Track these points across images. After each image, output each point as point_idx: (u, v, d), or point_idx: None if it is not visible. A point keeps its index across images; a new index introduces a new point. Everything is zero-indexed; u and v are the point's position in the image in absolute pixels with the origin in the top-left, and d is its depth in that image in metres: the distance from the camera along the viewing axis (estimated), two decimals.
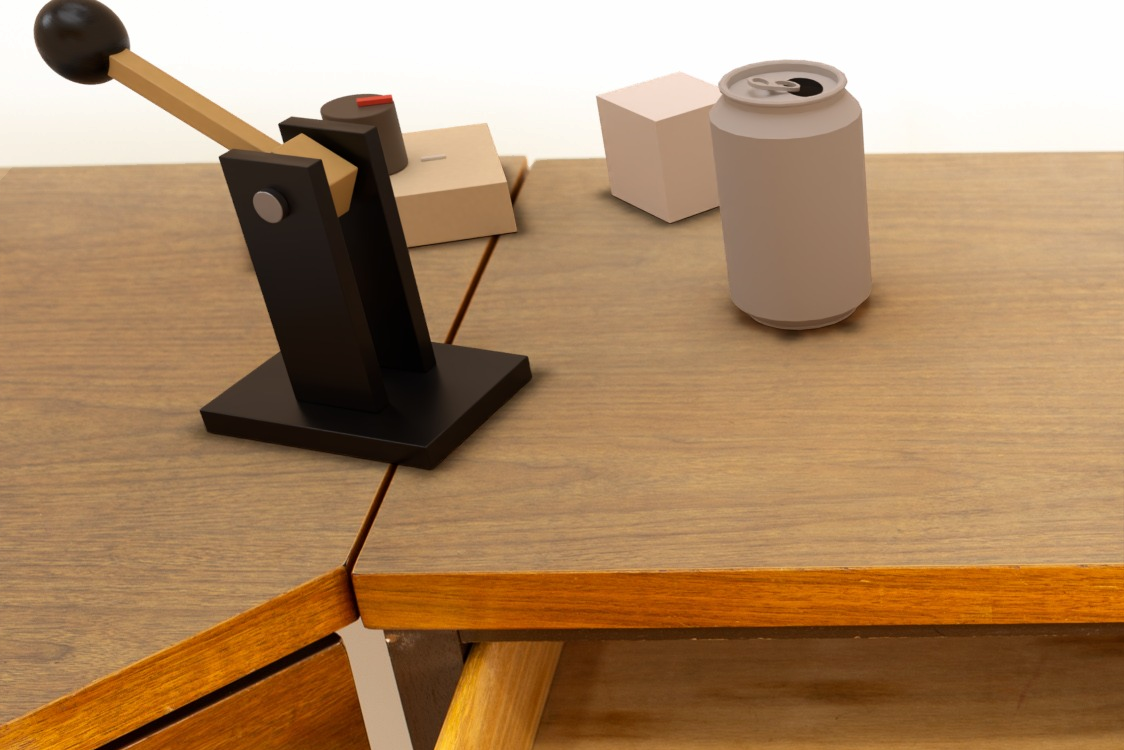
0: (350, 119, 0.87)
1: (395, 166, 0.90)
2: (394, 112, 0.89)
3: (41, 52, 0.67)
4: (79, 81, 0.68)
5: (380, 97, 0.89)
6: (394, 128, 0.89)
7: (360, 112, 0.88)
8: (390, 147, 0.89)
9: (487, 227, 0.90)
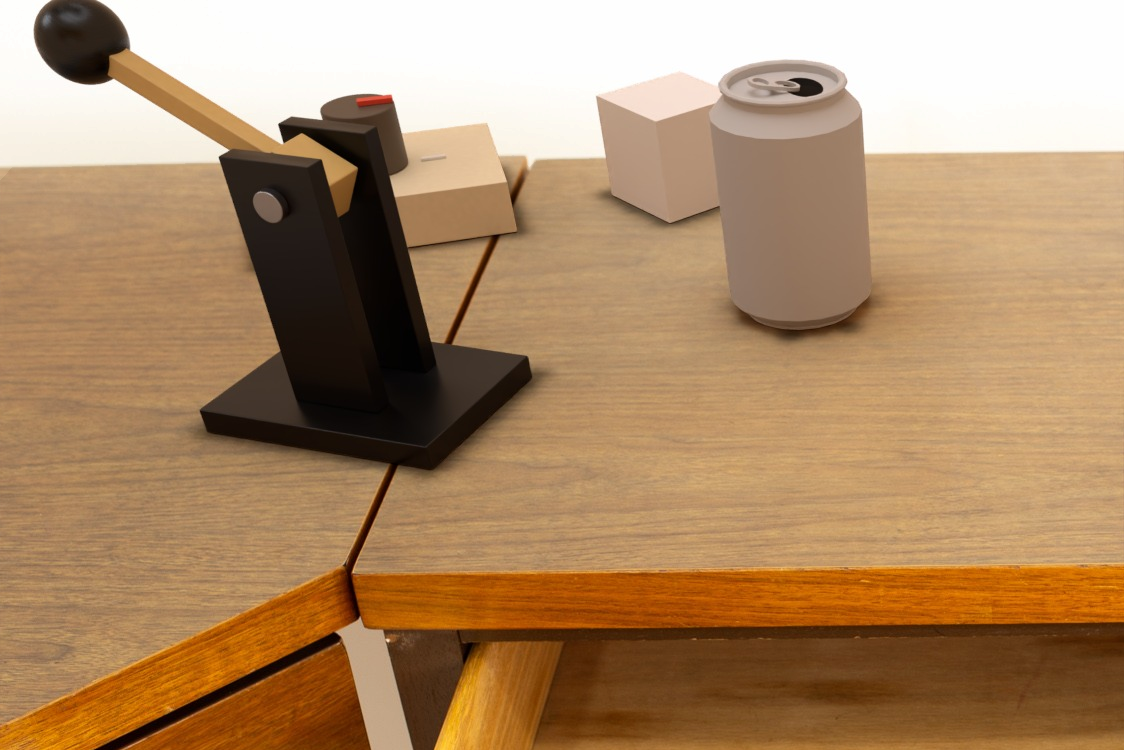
0: (350, 119, 0.87)
1: (395, 166, 0.90)
2: (394, 112, 0.89)
3: (41, 52, 0.67)
4: (79, 81, 0.68)
5: (380, 97, 0.89)
6: (394, 128, 0.89)
7: (360, 112, 0.88)
8: (390, 147, 0.89)
9: (487, 227, 0.90)
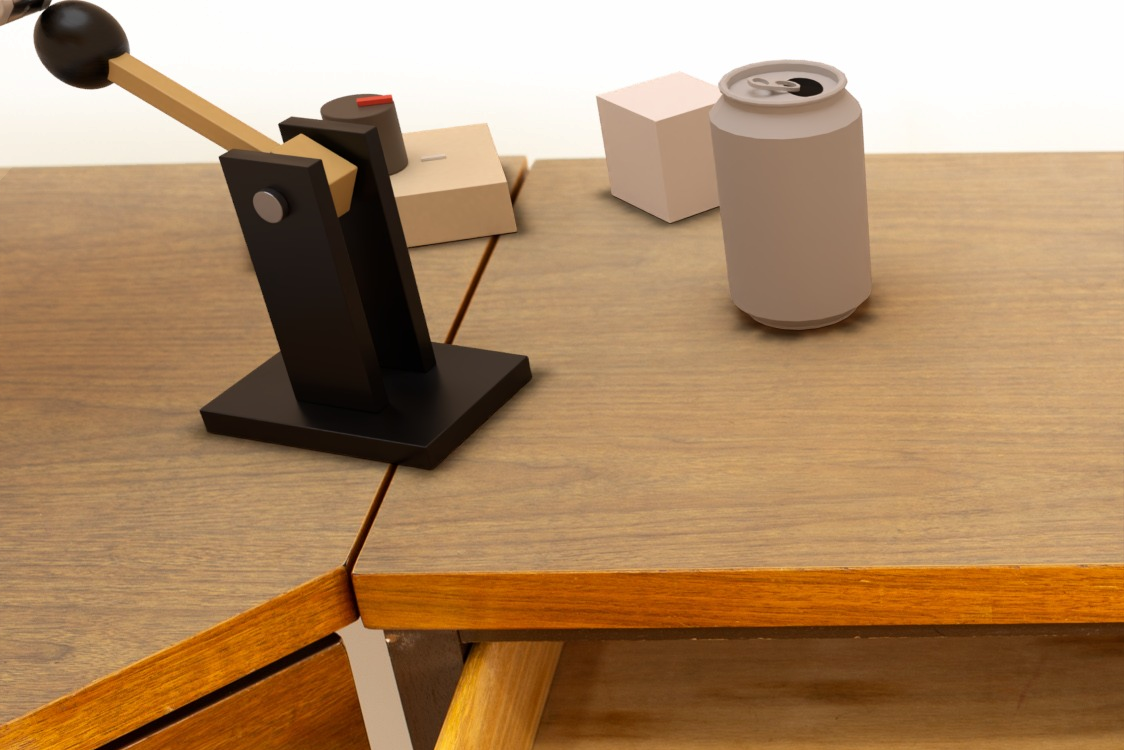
0: (350, 119, 0.87)
1: (395, 166, 0.90)
2: (394, 112, 0.89)
3: (41, 57, 0.67)
4: (79, 86, 0.68)
5: (380, 97, 0.89)
6: (394, 128, 0.89)
7: (360, 112, 0.88)
8: (390, 147, 0.89)
9: (487, 227, 0.90)
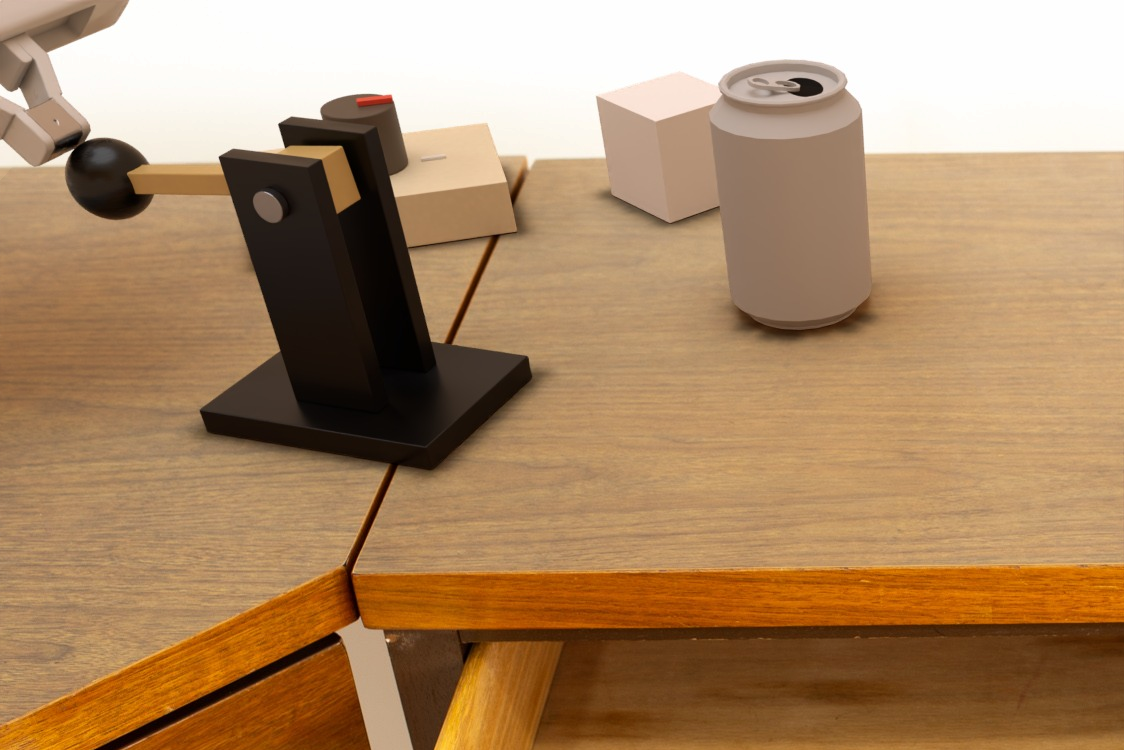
0: (350, 119, 0.87)
1: (395, 166, 0.90)
2: (394, 112, 0.89)
3: (78, 201, 0.71)
4: (118, 212, 0.71)
5: (380, 97, 0.89)
6: (394, 128, 0.89)
7: (360, 112, 0.88)
8: (390, 147, 0.89)
9: (487, 227, 0.90)
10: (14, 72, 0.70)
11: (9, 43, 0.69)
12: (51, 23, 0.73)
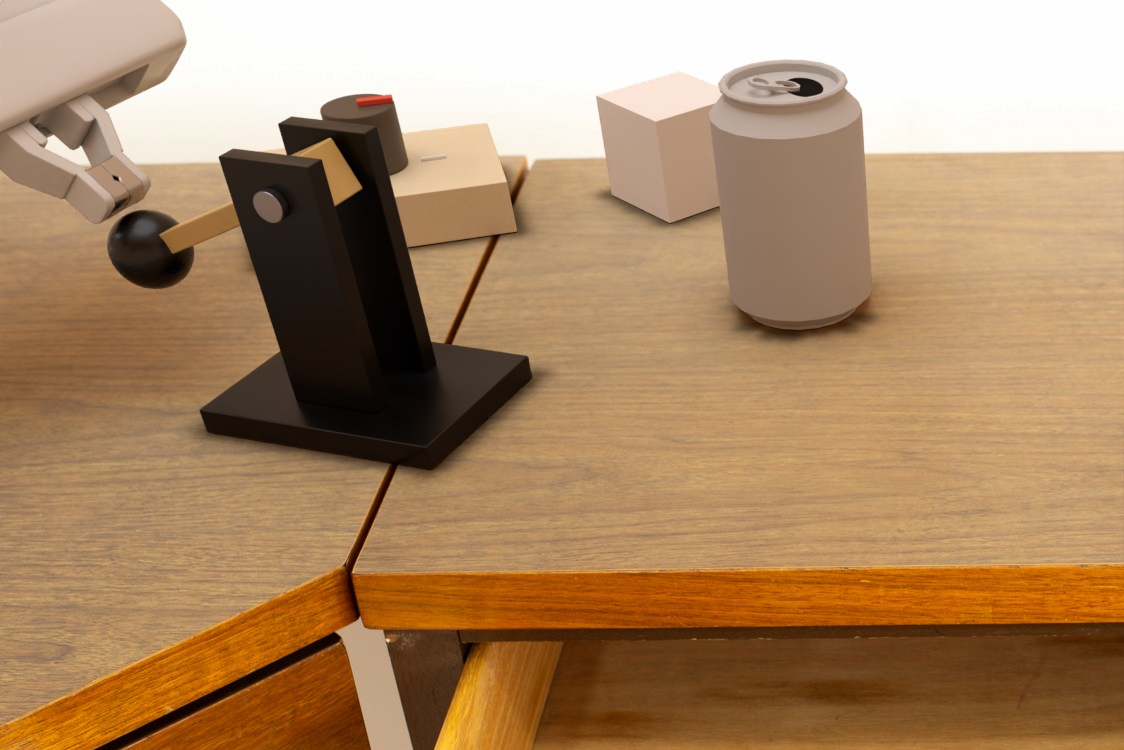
0: (350, 119, 0.87)
1: (395, 166, 0.90)
2: (394, 112, 0.89)
3: (124, 275, 0.73)
4: (160, 276, 0.73)
5: (380, 97, 0.89)
6: (394, 128, 0.89)
7: (360, 112, 0.88)
8: (390, 147, 0.89)
9: (487, 227, 0.90)
10: (76, 131, 0.72)
11: (72, 103, 0.72)
12: (107, 82, 0.76)
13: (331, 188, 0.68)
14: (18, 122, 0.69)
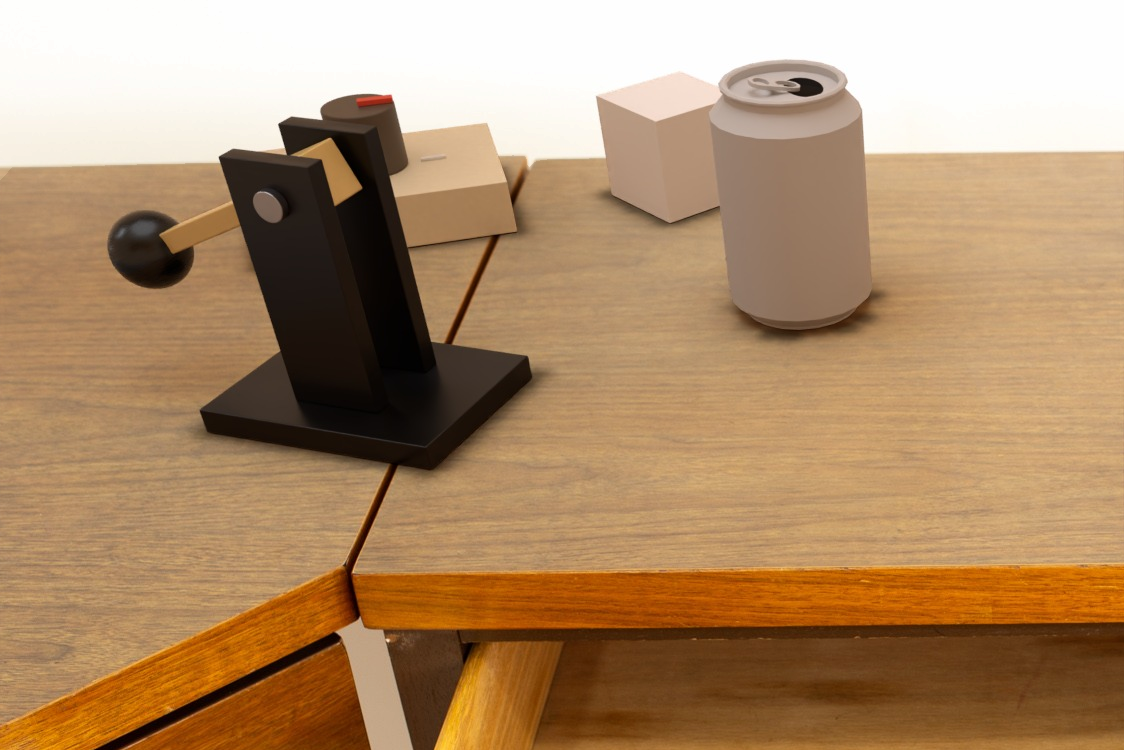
0: (350, 119, 0.87)
1: (395, 166, 0.90)
2: (394, 112, 0.89)
3: (124, 275, 0.73)
4: (160, 276, 0.73)
5: (380, 97, 0.89)
6: (394, 128, 0.89)
7: (360, 112, 0.88)
8: (390, 147, 0.89)
9: (487, 227, 0.90)
10: None
11: None
12: None
13: (331, 188, 0.68)
14: None
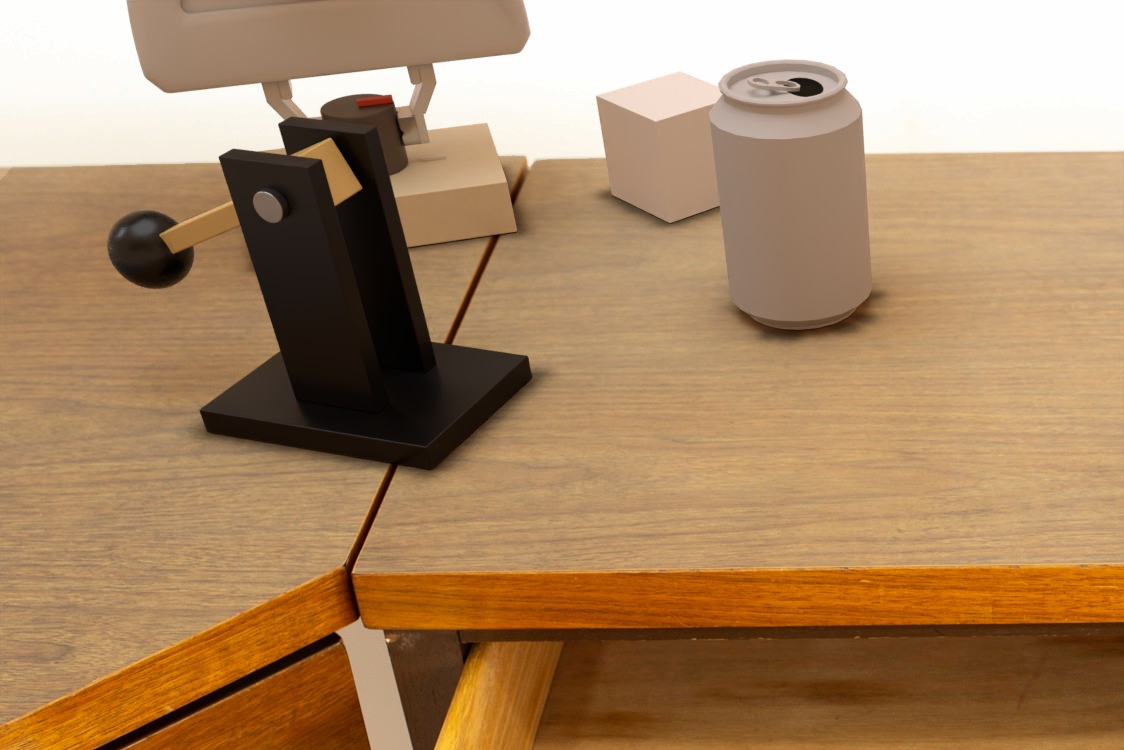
0: (350, 119, 0.87)
1: (395, 166, 0.90)
2: (394, 112, 0.89)
3: (124, 275, 0.73)
4: (160, 276, 0.73)
5: (380, 97, 0.89)
6: (394, 128, 0.89)
7: (360, 112, 0.88)
8: (390, 147, 0.89)
9: (487, 227, 0.90)
10: (291, 88, 0.87)
11: None
12: None
13: (331, 188, 0.68)
14: None
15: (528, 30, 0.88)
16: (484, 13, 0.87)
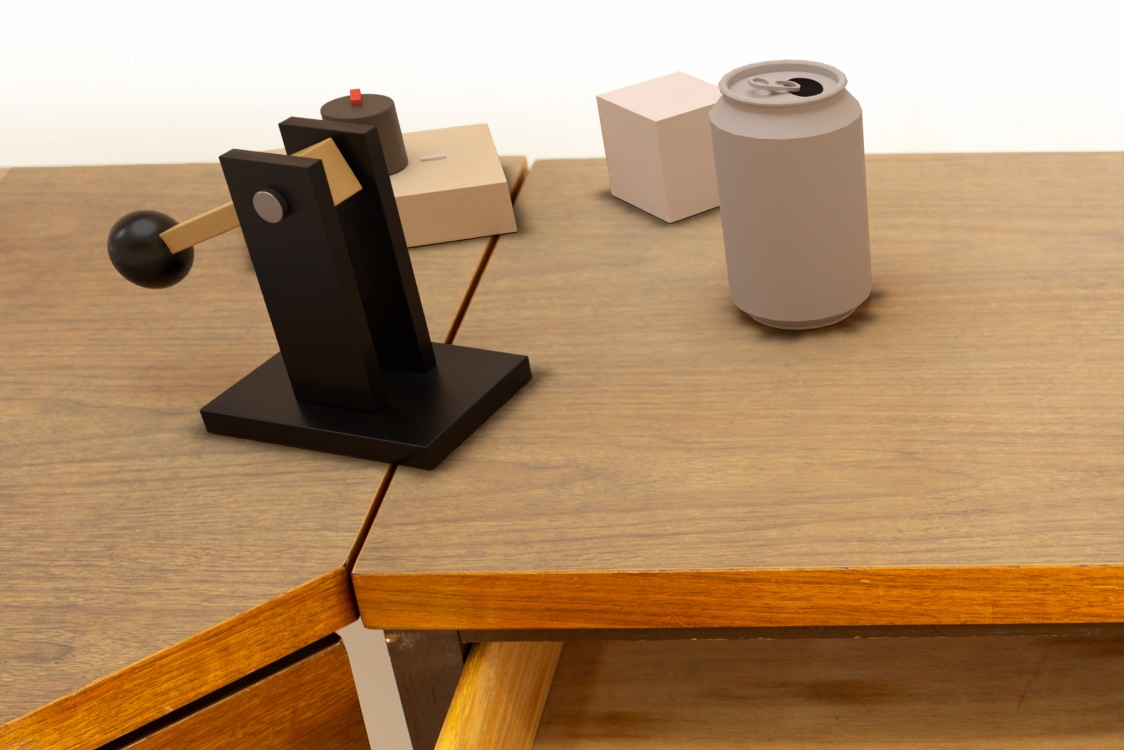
0: (393, 105, 0.89)
1: None
2: None
3: (124, 275, 0.73)
4: (160, 276, 0.73)
5: (356, 92, 0.90)
6: None
7: (380, 102, 0.89)
8: None
9: (487, 227, 0.90)
10: None
11: None
12: None
13: (331, 188, 0.68)
14: None
15: None
16: None
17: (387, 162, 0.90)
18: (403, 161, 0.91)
